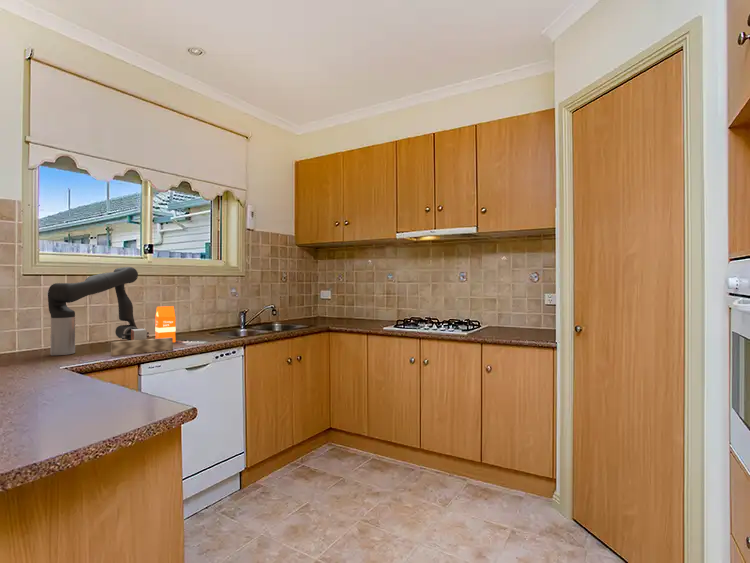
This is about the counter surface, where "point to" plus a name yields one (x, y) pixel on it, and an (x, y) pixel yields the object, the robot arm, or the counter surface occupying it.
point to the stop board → (141, 346)
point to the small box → (138, 334)
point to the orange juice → (165, 322)
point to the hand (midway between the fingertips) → (139, 337)
